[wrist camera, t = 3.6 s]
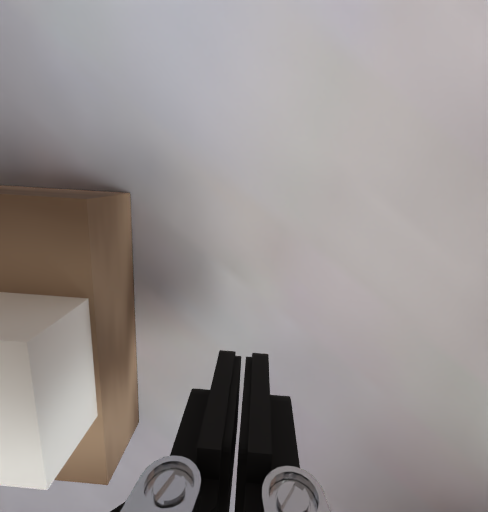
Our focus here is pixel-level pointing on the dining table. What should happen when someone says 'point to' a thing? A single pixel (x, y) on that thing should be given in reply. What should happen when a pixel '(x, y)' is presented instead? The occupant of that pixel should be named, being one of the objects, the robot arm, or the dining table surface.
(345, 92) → the dining table surface
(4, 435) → the tile
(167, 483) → the robot arm
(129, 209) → the board
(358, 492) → the dining table surface
